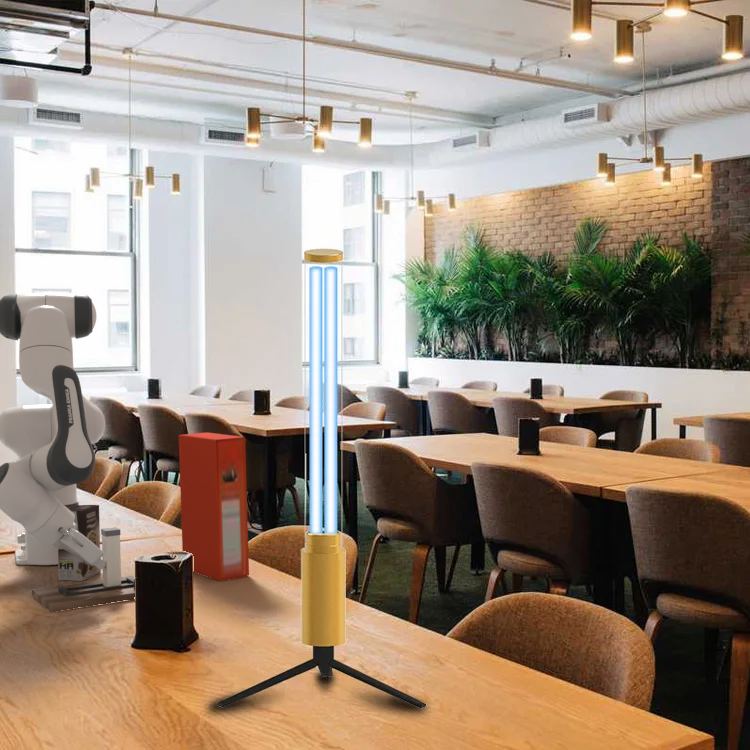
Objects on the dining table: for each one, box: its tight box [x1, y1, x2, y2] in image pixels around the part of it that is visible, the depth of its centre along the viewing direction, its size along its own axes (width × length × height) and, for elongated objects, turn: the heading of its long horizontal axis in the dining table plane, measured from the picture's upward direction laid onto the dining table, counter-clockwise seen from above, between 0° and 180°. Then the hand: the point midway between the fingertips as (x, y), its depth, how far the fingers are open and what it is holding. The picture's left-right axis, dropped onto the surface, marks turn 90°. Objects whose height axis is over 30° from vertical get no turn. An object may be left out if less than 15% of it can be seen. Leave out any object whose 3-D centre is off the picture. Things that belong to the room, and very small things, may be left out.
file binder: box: [178, 431, 250, 582], centre depth 243 cm, size 8×17×32 cm, turn 38°
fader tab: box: [100, 526, 122, 587], centre depth 225 cm, size 3×3×12 cm
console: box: [31, 575, 135, 613], centre depth 223 cm, size 16×22×4 cm
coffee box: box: [57, 504, 102, 582], centre depth 242 cm, size 9×6×16 cm
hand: (101, 566), depth 224 cm, fingers closed, pressing on fader tab
